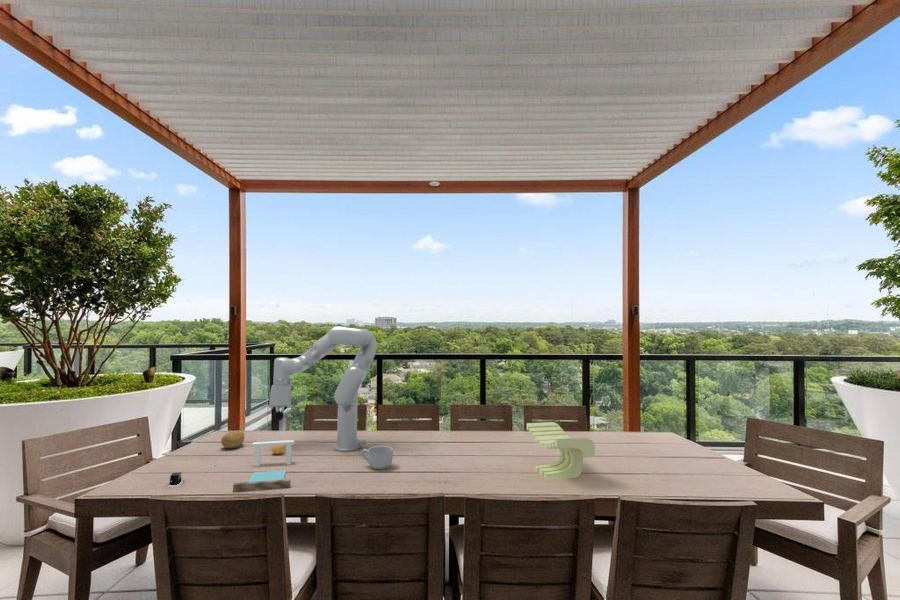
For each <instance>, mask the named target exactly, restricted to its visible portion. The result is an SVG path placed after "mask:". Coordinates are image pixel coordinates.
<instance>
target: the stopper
mask: <svg viewBox="0 0 900 600" xmlns="http://www.w3.org/2000/svg"><path fill="white" fill-rule="evenodd" d="M291 485H292V484H291V479H290V478H289V479H283V480H272V481H258V482H248V481H246V482H234V483H233V485H232V492H233V491H238V492H249V490H252V491H257V490H256V489H265V490H273V489H272V488H278V489H289V488H291Z"/></svg>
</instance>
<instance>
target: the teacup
mask: <svg viewBox="0 0 900 600" xmlns="http://www.w3.org/2000/svg"><path fill="white" fill-rule="evenodd" d="M393 451H394V448H393V447H391V446H388V445H375V446H371V447H369V448H363V449H362V450H361V451H360V456H361V458H362V459H364V460H365V461H366V462H367V464H368V465H369V466H370V467H371V468H372V469H374V470H377V469H382V470H386V469H388V468H389V467H390V466H391V465H392V463H393V455H394V454H393ZM364 452H366V454H367V457H366V456H365V455H364Z"/></svg>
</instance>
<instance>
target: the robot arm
mask: <svg viewBox="0 0 900 600" xmlns="http://www.w3.org/2000/svg"><path fill="white" fill-rule="evenodd" d="M341 345H342V346H352V347H359V350H358V351H357V353H356V355H355V357H354V360H353V362H352V364H351V365H350V366H349V367H348V368H347V369H345V371H344V373H343V375H342V377H341V379H340V382H339V383H338V385H337V388H336V389H335V391H334V395H333V397H334V402H335V403H336V404H337V430H336V431H337V432H336V433H337V435H336V436H337V438H336V439H337V441H336V444H335V445H333V449H334V450H335V451H338V452H350V451H356V450H359V449H360V448H361V445H366V444H367V439H364V438H363V439H359V437H358V403H359V401H358V400H359V389H360V387H361V385H362V383H363V382H364V381H365V379H366V377H367V374H368V372H369V370H370V368H371V365H372V362H373V361H374V358H375V357H376V353H377V346H378V343H377V340H376V337H375V335H374V334H373V333H372V332H371V331H370V330H369V329H367V328H352V327H346V326H343V325H336V326H333V327H332V328H330V330H329V331H328V332H326V334H324V335H323V336H322V337H320V338H319V339H317V340H316V341H315V342H314V343H313V345H312V346H311V347H310V348H309V349H308V350H307V351H305V352H304V353H303V354H301V355H300V356H298V357H293V358H289V357H276V358H274V361H273V379H272V381H273V384H272V385H271V387H270V393H269V405H268V409H273V410H274V411H275V413H276V419H277V421H282V420H283V418H284V411H286V410H288V409H291V408H292V407H293V405H292V400H293V399H292V397H293V396H292V391H293V390H292V385H291V384H293V380H291V379H290V375H291V374H300V373H301V372H302V373H303V372H305V371H307V369H309V368H310V367H312V366H313V365H315V364H316V363H317V362H319V361H320V360H321V359H322V358H324V357H325V356H327V355H328V354H330V353H331V352H332V351H333V350H335V349H336V348H338V347H339V346H341ZM280 407H281V409H280Z"/></svg>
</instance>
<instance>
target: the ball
mask: <svg viewBox="0 0 900 600" xmlns="http://www.w3.org/2000/svg"><path fill="white" fill-rule="evenodd" d="M285 448H286V445H277V446H271V452H272V453H273V454H274V455H280V454H282V453H283V452H284V450H285Z"/></svg>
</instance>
